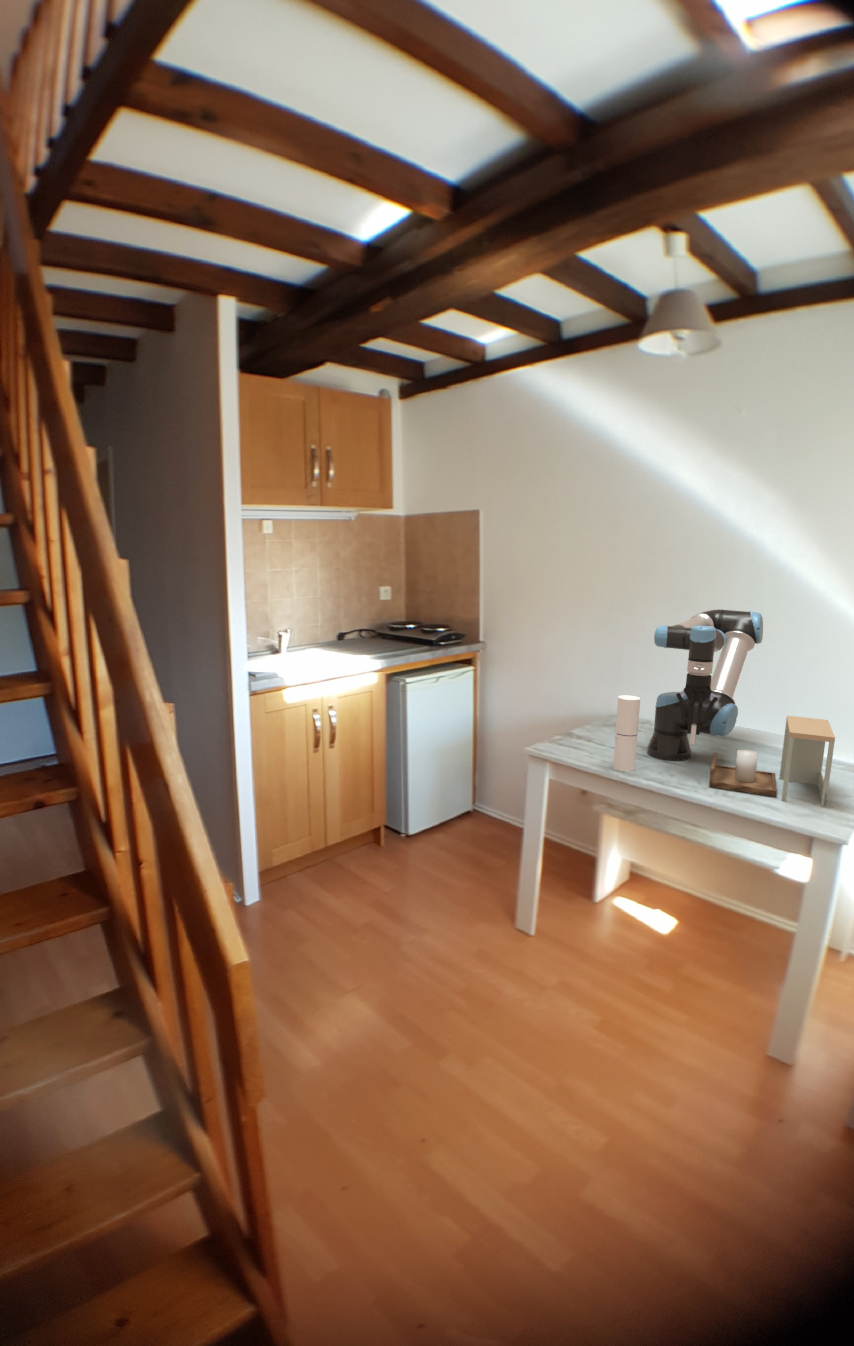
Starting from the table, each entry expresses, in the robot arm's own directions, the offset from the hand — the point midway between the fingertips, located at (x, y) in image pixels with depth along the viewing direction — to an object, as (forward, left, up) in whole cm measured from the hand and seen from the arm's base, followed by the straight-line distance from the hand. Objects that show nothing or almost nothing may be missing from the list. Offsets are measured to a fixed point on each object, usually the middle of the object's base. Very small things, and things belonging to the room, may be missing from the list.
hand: (692, 743), depth 223 cm
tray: (+16, 0, -11) cm, 20 cm away
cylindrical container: (-21, -3, -11) cm, 24 cm away
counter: (+33, +1, -11) cm, 35 cm away
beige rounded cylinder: (+17, 0, -10) cm, 19 cm away
